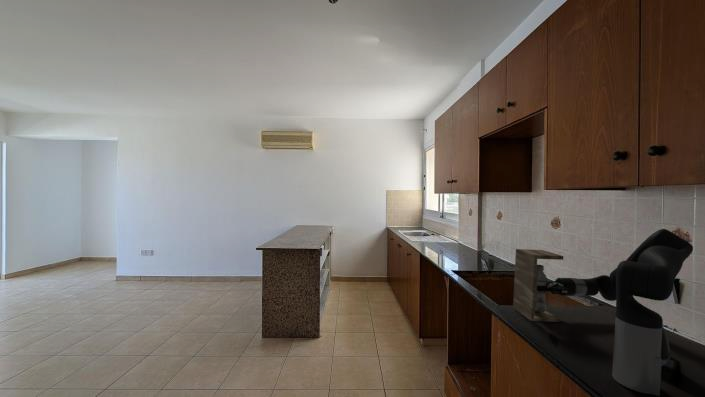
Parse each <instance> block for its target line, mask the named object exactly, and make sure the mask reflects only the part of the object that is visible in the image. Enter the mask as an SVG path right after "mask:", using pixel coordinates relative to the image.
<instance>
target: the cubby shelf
mask: <svg viewBox="0 0 705 397" xmlns="http://www.w3.org/2000/svg"><path fill="white" fill-rule="evenodd" d="M538 260H559V261H561V260H564V256H563V255H560V254H558V253H554V252H550V251H547V250H544V249H543V250H542V249H524V248H523V249H522V248H521V249H520V248H515V259H514V261H515V263H514V282H513V300H512V301H513V302H512V309H513V310H514V311H516V312H518V313H519V314H520V315H522V316H523V317H525V318H526V319H527V320H529V321H531V322H554V323H555V322H558V323H559V322H561V318H560V317H558V316H556V315H555V314H552V313H551V312H549V311H547V310H546V311H545V312H543V313H539V312H535V294H536V275H537V264H538Z"/></svg>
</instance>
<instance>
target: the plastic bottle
mask: <svg viewBox="0 0 705 397" xmlns="http://www.w3.org/2000/svg"><path fill="white" fill-rule="evenodd" d="M544 271H545V267H544V265H542V264H538V263H537V275H536V294H535V312H539V313H543V312H545V311H547V303H546V292H544V291H537V286H546V283H547V281H548V277H547V275H546V273H545V272H544Z"/></svg>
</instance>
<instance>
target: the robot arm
mask: <svg viewBox="0 0 705 397" xmlns="http://www.w3.org/2000/svg"><path fill="white" fill-rule="evenodd" d="M693 251H694V246H693V244H692V243H690V242H689V241H687V240H685V239H683V238H682V237H681V236H680V235H677V234H676V233H674V232H672V231H670V230H668V229H665V228H661V229H658V230H656V231H655V232H653V233H651V234H650V235H649V236H648V237H647V238H645V240H644V241H643V242H642V243H641V244H640V245H638V247H637V248H636V249H635V250H633V252H631V254H630V255H629V256H628V257H627V258H626V260H622V261H620V262H619V263H618V265H617V267H616V268H615V269H614V270H612V271H611V272H610V273H609V275H606V274H603V275H598V276H595V277H591V278H576V277H575V278H574V277H558V278H555V280H547V283H546V286H537V291H544V292H545V293H550V294H551V295H559V296H561V297H581V296H582V297H583V296H587V297H594V296H597V295H598V293H599V294H600V296H601V297H602V298H603V299H604V300H606V301H609V302H614V301H615V319H614V320H615V322H614V323H615V324H614V337H613V338H614V340H613V356H612V369H611V372H612V374H611V375H612V376H611V377H612V378H613V380H614V381H616V382H617V383H618V384H620V385H622V386H623V387H626V388H627V389H630V390H632V391H635V392H639V393H642V394H647V395H655V396H657V397H660V395H661V379H662V378H661V377H662V366H661V365H662V360H661V342H662V326H663V322H664V321H663V320H664V319H663V316H662V315H661V314H659V313H658V312H656V311H655V310H652V309H650V308H648V307H646V306H645V305H644V304H641V303H640V302H639V301H638V300H637V299H635V297H638V298H643V299H648V300H651V301H659V302H660V301H661V302H662V301H666V300H668V299H669V298H670V296H671V295H672V293H673V290H674V286H675V280H676V278H677V276H678V274H679V273H680V271H681V269H682V268H683V265H684V262H685V261H686V259H688V257H689V256H691V254H692V253H693ZM689 258H690V257H689ZM663 327H664V326H663Z"/></svg>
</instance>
